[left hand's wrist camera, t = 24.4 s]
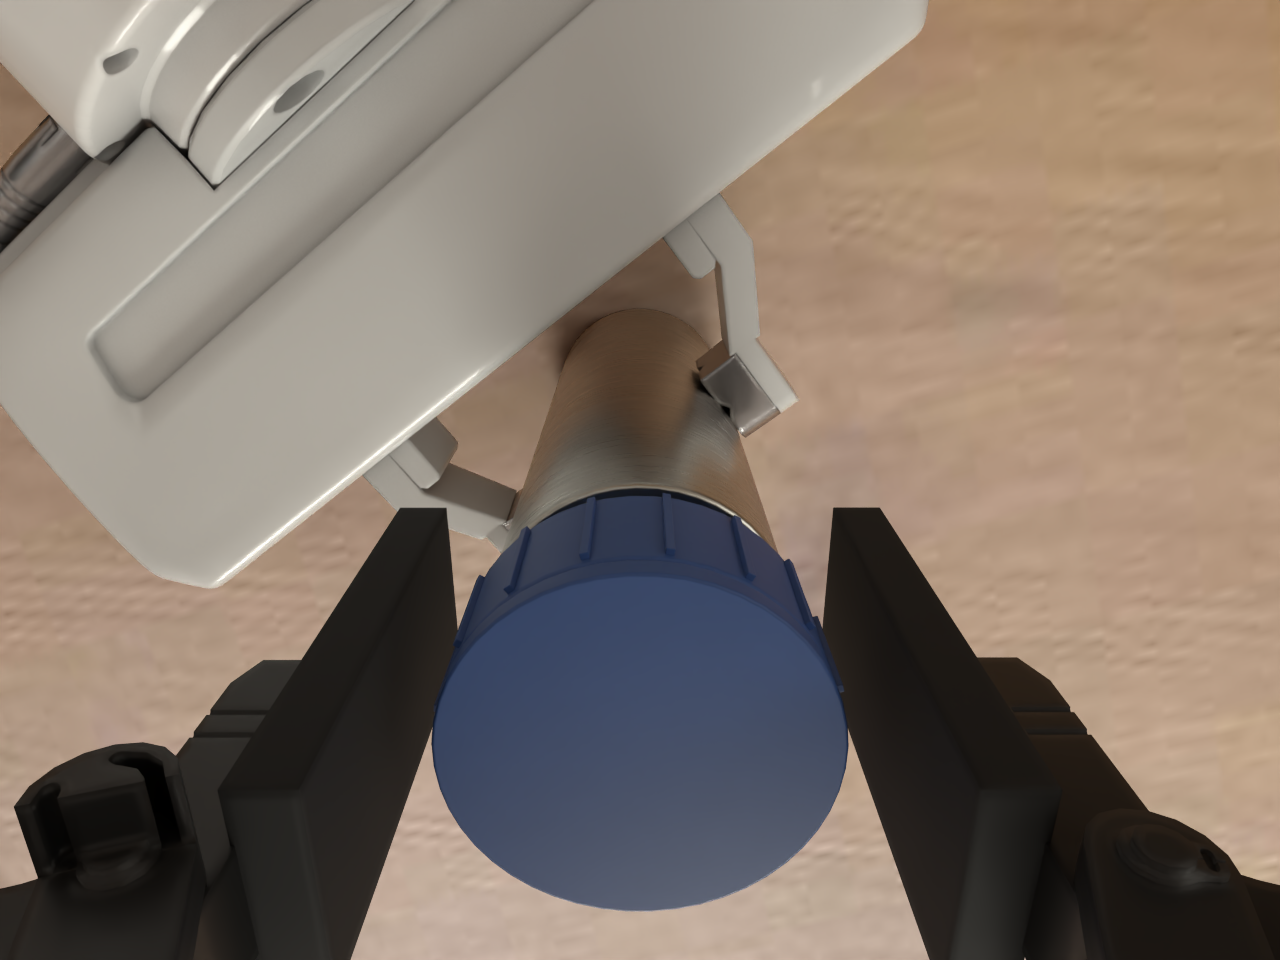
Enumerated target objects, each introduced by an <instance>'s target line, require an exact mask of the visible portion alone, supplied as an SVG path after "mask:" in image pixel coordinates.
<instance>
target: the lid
mask: <svg viewBox="0 0 1280 960" xmlns="http://www.w3.org/2000/svg"><path fill="white" fill-rule="evenodd" d="M453 646H455V648H454V651H453V654H452V657H451V659H450V662H449V665H448V668H447V670H446V673H445V676H444V679H443V681H442V684H441V687H440V690H439V692H438V695H437V698H436V701H435V703H434V712H435V714H434V719H433V729H432V753H433V762H434V768H435V772H436V776H437V780H438V783H439V787H440V790H441V792H442V795H443V797H444V799H445V801H446V804H447V806H448V808H449V810H450V812H451V813H452V815H453V817H454V818H455V820H456V821H457V823H458V825H459V826H460V828H461V829H462V830H463V832H464V833H465V834H466V835H467V836H468V838H469V839H470V840H471V841H472V842H473V844H474V845H475V846H476V847H477V848H478V849H479V850H480V851H481V852H483V853H484V854H485V855H486V856H487V857H488V858H489V859H490V860H491V861H492V862H494V863H495V864H496V865H498V866H499V867H501V868H502V869H503V870H505V871H506V872H507V873H509V874H510V875H512V876H513V877H515V878H517V879H519V880H520V881H522V882H524V883H526V884H528V885H529V886H531V887H533V888H536V889H538V890H540V891H542V892H545V893H547V894H549V895H552V896H554V897H557V898H561V899H564V900H567V901H570V902H573V903H577V904H581V905H586V906H591V907H596V908H601V909H610V910H619V911H660V910H671V909H679V908H684V907H689V906H694V905H699V904H703V903H706V902H710V901H713V900H716V899H720V898H723V897H726V896H728V895H730V894H733V893H735V892H738V891H740V890H742V889H745V888H747V887H749V886H751V885H752V884H754V883H756V882H758V881H760V880H761V879H763V878H765V877H767V876H768V875H770V874H771V873H773V872H774V871H775V870H777V869H778V868H780V867H781V866H782V865H784V864H785V863H787V862H788V861H789V860H790V859H791V858H792V857H793V856H794V855H795V854H796V853H798V852H799V851H800V850H801V849H802V848H803V847H804V846H805V845H806V843H807V842H808V841H809V840H810V839H811V838H812V836H813V835H814V834H815V833H816V832H817V831H818V829H819V828H820V826H821V825H822V823H823V821H824V820H825V818H826V817H827V815H828V814H829V812H830V810H831V808H832V806H833V804H834V801H835V799H836V797H837V795H838V793H839V790H840V787H841V783H842V780H843V776H844V773H845V769H846V762H847V754H848V725H847V719H846V714H845V710H844V705H843V701H842V698H841V695H840V692H844V687H843V683H842V681H841V678H840V675H839V673H838V670H837V667H836V664H835V662H834V659H833V656H832V654H831V651H830V648H829V646H828V643H827V640H826V638H825V635H824V632H823V629H822V627H821V624H820V621H819V619H818V616H815V617H812V614H811V612H810V609H809V606H808V604H807V601H806V598H805V596H804V593H803V590H802V588H801V585H800V582H799V579H798V576H797V574H796V571H795V568H794V565H793V563H792V562H791V561H790V559H787V560H786V561H784V560H783V559H782V558H781V557H780V555H779V554H778V553H777V552H776V551H775V550H774V549H773V548H772V547H771V546H770V545H769V544H768V543H767V542H766V541H765V540H763V539H762V538H761V537H760V536H758V535H757V534H756V533H754V532H753V531H751V530H750V529H749V528H747V527H746V526H745V525H743V524H742V520H741V518H740V517H738V516H736V515H734V516H733V518H730V517H728V516H727V515H725V514H723V513H720V512H717V511H715V510H712V509H710V508H707V507H705V506H702V505H698V504H695V503H691V502H687V501H683V500H679V499H672V498H671V494H665V493H663V495H662V497H656V496H625V497H616V498H607V499H602V500H598V501H596V499H595V497H592V498H588V499H587V503H585V504H581V505H578V506H576V507H573V508H570V509H568V510H565V511H562V512H560V513H558V514H556V515H554V516H552V517H550V518H548V519H546V520H544V521H542V522H541V523H539V524H537V525H536V526H534V527H533V528H531V529H529V528H528V526H526V527H525V528H523V529H522V530H521V532H520V535H519V538H518V539H517V540H516V541H515V542H514V543H512V544H511V545H510V546H509V547H508V548H507V549H506V550H505V551H504V552H503V553H502V554H501V556H500V557H499V558H498V559H497V561H496V562H495V563H494V564H493V566H492V567H491V568H490V569H489V571H488V573H487V574H486V576H485V577H483V576H481V575H479V577H478V578H477V580H476V583H475V585H474V588H473V591H472V594H471V596H470V599H469V602H468V604H467V607H466V610H465V613H464V615H463V618H462V621H461V623H460V626H459V629H458V632H457V634H456V637H455V640H454V642H453Z"/></svg>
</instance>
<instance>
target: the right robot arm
mask: <svg viewBox="0 0 1280 960" xmlns="http://www.w3.org/2000/svg"><path fill="white" fill-rule="evenodd" d="M928 2H929V0H0V63H1V64H2V65H3V66H4V67H5V68H6V69H7V70H8V71H9V72H10V73H11V74H12V75H13V76H14V77H15V79H16V80H17V81H18V82H19V83H20V84H21V85H22V86H23V87H24V88H25V89H26V90H27V91H28V92H29V93H30V94H31V96H32V97H33V98H34V99H35V100H36V101H37V102H38V103H39V104H40V105H41V106H42V107H43V108H44V109H45V110H46V111H47V113H48V114H49V115H48V116H47V117H46V118H45V119H44V120H43V121H42V122H41V123H40V125H39V126H38V127H37V128H36V129H35V130H34V132H33V133H32V134H31V135H30V136H29V137H28V138H27V139H26V140H25V141H24V142H23V143H22V144H21V145H20V146H19V147H18V148H17V149H16V150H15V152H14V153H13V154H12V155H11V157H10V158H9V159H8V160H7V162H6V163H5V164H4V165H3V167H2V168H1V170H0V404H1V406H2V407H3V409H4V410H5V411H6V413H7V414H8V415H9V417H10V418H11V419H12V421H13V422H14V423H15V425H16V426H17V427H18V428H19V430H20V431H21V432H22V433H23V435H24V436H25V437H26V438H27V440H28V441H29V442H30V443H31V445H32V446H33V447H34V448H35V450H36V451H37V452H38V453H39V455H40V456H41V457H42V458H43V459H44V460H45V462H46V463H47V464H48V465H49V466H50V467H51V469H52V470H53V471H54V472H55V473H56V474H57V476H58V477H59V478H60V479H61V480H62V481H63V483H64V484H65V485H66V486H67V487H68V488H69V490H70V491H71V492H72V493H73V494H74V495H75V496H76V497H77V498H78V500H79V501H80V502H81V503H82V504H83V505H84V506H85V507H86V508H87V509H88V511H89V512H90V513H91V514H92V515H93V516H94V517H95V518H96V519H97V520H98V521H99V522H100V523H101V524H102V525H103V527H104V528H105V529H106V530H107V531H108V532H109V533H110V534H111V535H112V536H113V537H114V538H115V539H116V540H117V541H118V542H119V543H120V544H121V545H122V546H123V547H124V548H125V549H126V550H127V551H128V552H129V553H130V554H131V555H132V556H133V557H134V558H135V559H136V560H137V561H138V562H139V563H140V564H142V565H143V566H144V567H145V568H146V569H147V570H148V571H150V572H151V573H153V574H154V575H156V576H158V577H160V578H163V579H166V580H171V581H175V582H179V583H183V584H187V585H192V586H196V587H201V588H207V589H213V588H217V587H220V586H222V585H223V584H225V583H226V582H227V581H229V580H230V579H231V578H233V577H234V576H235V575H236V574H238V573H239V572H240V571H241V570H243V569H244V568H245V567H247V566H248V565H249V564H250V563H252V562H253V561H254V560H255V559H257V558H258V557H259V556H260V555H262V554H263V553H264V552H265V551H267V550H268V549H269V548H271V547H272V546H273V545H274V544H276V543H277V542H278V541H279V540H281V539H282V538H283V537H284V536H286V535H287V534H288V533H289V532H291V531H292V530H293V529H295V528H296V527H297V526H298V525H300V524H301V523H302V522H303V521H305V520H306V519H307V518H308V517H310V516H311V515H312V514H314V513H315V512H316V511H317V510H319V509H320V508H321V507H322V506H324V505H325V504H326V503H327V502H329V501H330V500H331V499H332V498H334V497H335V496H336V495H338V494H339V493H340V492H341V491H343V490H344V489H345V488H346V487H348V486H349V485H350V484H351V483H353V482H354V481H355V480H357V479H358V478H359V477H360V476H362V475H363V476H364V477H365V479H366V480H367V481H368V482H369V483H370V484H371V485H372V486H373V487H374V488H375V489H376V490H377V491H378V492H379V493H380V494H381V495H382V496H383V497H384V498H385V499H386V501H387V502H388V503H389V504H390V505H391V506H392V507H393V508H394V509H395V510H396V511H397V512H398V510H399V509H400V508H447V518H448V529H450V530H453V531H456V532H459V533H462V534H465V535H469V536H472V537H475V538H478V539H481V540H482V539H484V538H485V537H487V538H488V540H489V541H490V542H491V543H492V544H493V545H494V546H495V547H496V548H497V549H498V550H499V551H500V552H501V553H502V550H503V547H504V544H505V541H506V538H507V535H508V532H509V529H510V526H511V523H512V520H513V517H514V514H515V511H516V508H517V505H518V502H519V499H520V496H521V493H522V490H523V489H521V490H520V491H518V492H517V490H514V489H512V488H509V487H507V486H504V485H502V484H499V483H497V482H495V481H492V480H490V479H487V478H485V477H482V476H480V475H477V474H475V473H473V472H470V471H468V470H465V469H463V468H460V467H458V466H455V465H453V464H451V463H449V462H450V460H451V458H452V457H453V455H454V453H455V452H456V450H457V447H458V442H457V441H456V439H455V438H454V437H453V436H452V435H451V434H450V433H449V431H448V430H447V429H446V428H445V427H444V426H443V425H442V424H441V422H440V421H439V420H438V419H437V418H436V416H437V415H439V414H440V413H441V412H442V411H444V410H445V409H446V408H448V407H449V406H450V405H451V404H453V403H454V402H455V401H456V400H458V399H459V398H460V397H461V396H463V395H464V394H465V393H466V392H468V391H469V390H470V389H472V388H473V387H474V386H475V385H477V384H478V383H479V382H480V381H482V380H483V379H484V378H485V377H487V376H488V375H489V374H491V373H492V372H493V371H494V370H496V369H497V368H498V367H499V366H501V365H502V364H503V363H504V362H506V361H507V360H508V359H509V358H511V357H512V356H513V355H515V354H516V353H517V352H518V351H520V350H521V349H522V348H523V347H525V346H526V345H527V344H528V343H530V342H531V341H532V340H533V339H535V338H536V337H537V336H539V335H540V334H541V333H542V332H544V331H545V330H546V329H547V328H549V327H550V326H551V325H552V324H554V323H555V322H556V321H558V320H559V319H560V318H561V317H563V316H564V315H565V314H566V313H568V312H569V311H570V310H571V309H573V308H574V307H575V306H576V305H578V304H579V303H580V302H582V301H583V300H584V299H585V298H587V297H588V296H589V295H590V294H592V293H593V292H594V291H595V290H597V289H598V288H599V287H600V286H602V285H603V284H604V283H606V282H607V281H608V280H609V279H611V278H612V277H613V276H614V275H616V274H617V273H618V272H619V271H621V270H622V269H623V268H625V267H626V266H627V265H628V264H630V263H631V262H632V261H633V260H635V259H636V258H637V257H638V256H640V255H641V254H642V253H643V252H645V251H646V250H647V249H649V248H650V247H651V246H652V245H654V244H655V243H656V242H657V241H659V240H660V239H661V238H663V239H664V240H665V242H666V243H667V244H668V246H669V247H670V248H671V250H672V251H673V252H674V254H675V255H676V256H677V258H678V259H679V260H680V262H681V263H682V264H683V266H684V267H685V268H686V270H687V271H688V272H689V274H690V275H691V276H692V277H693V278H698V279H701V278H703V277H704V276H705V275H706V274H708V273H709V272H710V271H712V270H713V269H714V270H715V279H716V288H717V298H718V307H719V316H720V326H721V335H722V339H723V340H722V341H720V342H719V343H718V344H717V345H715V346H714V347H713V348H711V349H710V350H709V351H708V352H706V353H705V354H704V355H702V356H701V357H700V358H699V359H697V360H696V361H695V362H696V366H697V369H698V370H699V373H698V374H699V378H700V381H701V382H702V384H703V385H704V386H705V388H706V389H707V390H708V392H709V393H710V394H711V396H712V397H713V398H714V399H715V400H716V401H717V402H718V403H719V404H720V405H722V406H725V407H727V410H728V413H729V416H730V419H731V420H732V422H733V424H734V426H735V427H736V428H737V430H738V431H739V432H740V433H741V434H742V435H743V436H744V437H747V436H749V435H750V434H751V433H753V432H754V431H756V430H757V429H759V428H760V427H762V426H763V425H764V424H766V423H767V422H769V421H770V420H772V419H773V418H775V417H776V416H777V415H779V414H780V413H782V412H783V411H784V410H786V409H787V408H789V407H790V406H792V405H793V404H794V403H796V402H797V401H799V398H798V396H797V395H796V393H795V391H794V389H793V388H792V386H791V385H790V383H789V382H788V380H787V379H786V377H785V376H784V374H783V373H782V371H781V370H780V369H779V367H778V366H777V364H776V363H775V362H774V360H773V359H772V358H771V356H770V355H769V353H768V352H767V351H766V349H765V348H764V347H763V345H762V344H761V342H760V341H759V340H758V338H757V337H758V336H760V328H759V315H758V302H757V289H756V276H755V264H754V251H753V241H752V239H751V238H750V236H749V235H748V234H747V232H746V231H745V229H744V228H743V226H742V225H741V223H740V222H739V221H738V219H737V218H736V216H735V215H734V213H733V212H732V210H731V209H730V208H729V206H728V205H727V203H726V202H725V200H724V199H723V197H722V196H721V195H720V193H719V192H721V191H722V190H723V189H724V188H726V187H727V186H728V185H729V184H731V183H732V182H733V181H735V180H736V179H737V178H738V177H740V176H741V175H742V174H743V173H745V172H746V171H747V170H748V169H750V168H751V167H752V166H753V165H755V164H756V163H757V162H759V161H760V160H761V159H762V158H764V157H765V156H766V155H767V154H769V153H770V152H771V151H772V150H774V149H775V148H776V147H777V146H779V145H780V144H781V143H783V142H784V141H785V140H786V139H788V138H789V137H790V136H791V135H793V134H794V133H795V132H796V131H798V130H799V129H800V128H802V127H803V126H804V125H805V124H807V123H808V122H809V121H810V120H812V119H813V118H814V117H815V116H817V115H818V114H819V113H820V112H822V111H823V110H824V109H826V108H827V107H828V106H829V105H831V104H832V103H833V102H834V101H836V100H837V99H838V98H839V97H841V96H842V95H843V94H844V93H846V92H847V91H848V90H850V89H851V88H852V87H853V86H855V85H856V84H857V83H858V82H860V81H861V80H862V79H863V78H865V77H866V76H867V75H869V74H870V73H871V72H872V71H874V70H875V69H876V68H877V67H879V66H880V65H881V64H882V63H884V62H885V61H886V60H887V59H889V58H890V57H891V56H892V55H894V54H895V53H896V52H897V51H899V50H900V49H901V48H902V47H904V46H905V45H906V44H907V43H909V42H910V41H911V40H913V39H914V38H915V37H916V36H917V35H918V34H919V33H920V31H921V30H922V28H923V26H924V24H925V20H926V15H927V9H928ZM516 492H517V493H516Z"/></svg>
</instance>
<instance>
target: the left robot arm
mask: <svg viewBox="0 0 1280 960" xmlns="http://www.w3.org/2000/svg"><path fill="white" fill-rule="evenodd" d="M457 632H458V629H457V618H456V607H455V596H454V585H453V573H452V562H451V551H450V540H449V529H448V518H447V508H400V509H399V510H398V512H397V514H396V515H395V517H394V518H393V520H392V521H391V523H390V524H389V526H388V527H387V529H386V530H385V532H384V534H383V535H382V537H381V538H380V540H379V541H378V543H377V544H376V546H375V547H374V549H373V551H372V552H371V554H370V555H369V557H368V558H367V560H366V561H365V563H364V564H363V566H362V567H361V569H360V571H359V572H358V574H357V575H356V577H355V578H354V580H353V581H352V583H351V584H350V586H349V588H348V589H347V591H346V592H345V594H344V595H343V597H342V598H341V600H340V601H339V603H338V604H337V606H336V608H335V609H334V611H333V612H332V614H331V615H330V617H329V618H328V620H327V621H326V623H325V625H324V626H323V628H322V629H321V631H320V632H319V634H318V635H317V637H316V638H315V640H314V641H313V643H312V645H311V646H310V648H309V649H308V651H307V652H306V654H305V655H304V657H303V658H302V660H263V661H261V662H260V663H259V664H257V665H256V666H254V667H253V668H251V669H250V670H249V671H247V672H246V673H244V674H243V675H241V676H240V677H239V678H237V679H236V680H234V681H233V682H231V683H230V685H229V686H228V687H227V689H226V690H225V691H224V693H223V694H222V695H221V696H220V698H219V699H218V700H217V702H216V703H215V704H214V706H213V707H212V708H211V713H210V715H206V716H205V718H204V719H203V720H202V722H201V723H200V724H199V726H198V727H197V728H196V730H195V731H194V737H193V738H189V739H188V740H187V742H186V743H185V744H184V746H183V747H182V748H181V750H180V751H179V752H178V754H177V755H176V756H175V755H174V754H173V753H171V752H170V751H169V750H168V749H167V748H166V747H163V746H158V745H153V744H148V743H143V742H142V743H129V744H116V745H112V746H108V747H105V748H101V749H98V750H94V751H91V752H87V753H84V754H82V755H80V756H77V757H75V758H73V759H71V760H69V761H67V762H65V763H63V764H61V765H59V766H57V767H55V768H53V769H52V770H50V771H49V772H48V773H46V774H45V775H44V776H42V777H41V778H40V779H39V780H37V781H36V782H35V783H33V784H32V785H31V786H29V787H28V789H27V790H26V791H25V793H24V794H23V795H22V797H21V798H20V799H19V801H18V802H17V803H16V805H15V806H14V809H15V812H16V815H17V818H18V820H19V823H20V826H21V829H22V832H23V835H24V838H25V841H26V844H27V847H28V850H29V853H30V856H31V859H32V862H33V864H34V867H35V870H36V873H37V876H38V879H36V880H33V881H29V882H26V883H23V884H19V885H15V886H11V887H6V888H2V889H0V960H350V959H351V956H352V954H353V951H354V948H355V945H356V942H357V939H358V937H359V934H360V931H361V928H362V925H363V922H364V920H365V917H366V914H367V911H368V908H369V905H370V903H371V900H372V897H373V894H374V891H375V888H376V886H377V883H378V880H379V877H380V874H381V871H382V869H383V866H384V863H385V860H386V857H387V854H388V851H389V849H390V846H391V843H392V840H393V837H394V834H395V832H396V829H397V826H398V823H399V820H400V817H401V815H402V812H403V809H404V806H405V803H406V800H407V798H408V795H409V792H410V789H411V786H412V783H413V781H414V778H415V775H416V772H417V769H418V766H419V764H420V761H421V758H422V755H423V752H424V749H425V747H426V744H427V741H428V738H429V735H430V732H431V730H432V727H433V719H434V714H435V712H434V703H435V701H436V698H437V695H438V692H439V690H440V687H441V684H442V681H443V679H444V676H445V673H446V670H447V668H448V665H449V662H450V659H451V657H452V654H453V651H454V648H455V646H453V642H454V640H455V637H456V634H457ZM823 632H824V635H825V638H826V640H827V643H828V646H829V648H830V651H831V654H832V656H833V659H834V662H835V664H836V667H837V670H838V673H839V675H840V678H841V681H842V683H843V687H844V692H840V695H841V698H842V701H843V705H844V710H845V714H846V719H847V725H848V729H849V732H850V735H851V738H852V741H853V744H854V747H855V749H856V752H857V755H858V758H859V761H860V764H861V766H862V769H863V772H864V775H865V778H866V781H867V783H868V786H869V789H870V792H871V795H872V798H873V800H874V803H875V806H876V809H877V812H878V815H879V817H880V820H881V823H882V826H883V829H884V832H885V834H886V837H887V840H888V843H889V846H890V849H891V851H892V854H893V857H894V860H895V863H896V866H897V868H898V871H899V874H900V877H901V880H902V883H903V886H904V888H905V891H906V894H907V897H908V900H909V903H910V905H911V908H912V911H913V914H914V917H915V920H916V922H917V925H918V928H919V931H920V934H921V937H922V939H923V942H924V945H925V948H926V951H927V954H928V956H929V959H930V960H1024V958H1026V960H1280V885H1276V884H1272V883H1268V882H1264V881H1260V880H1256V879H1253V878H1250V877H1246V876H1243V875H1241V874H1240V873H1239V871H1238V870H1237V868H1236V867H1235V865H1234V864H1233V862H1232V860H1231V859H1230V857H1229V856H1228V855H1227V854H1226V853H1225V852H1224V851H1222V850H1221V849H1220V848H1219V847H1218V846H1217V845H1215V844H1214V843H1213V842H1212V841H1211V840H1210V839H1208V838H1207V837H1206V836H1205V835H1203V834H1201V833H1199V832H1198V831H1196V830H1194V829H1192V828H1190V827H1188V826H1187V825H1185V824H1183V823H1181V822H1179V821H1177V820H1175V819H1172V818H1169V817H1165V816H1162V815H1159V814H1156V813H1153V812H1150V811H1148V809H1147V808H1146V807H1145V805H1144V804H1143V803H1142V801H1141V800H1140V799H1139V797H1138V796H1137V795H1136V793H1135V792H1134V791H1133V789H1132V788H1131V787H1130V785H1129V784H1128V783H1127V782H1126V780H1125V779H1124V778H1123V776H1122V775H1121V774H1120V772H1119V771H1118V770H1117V768H1116V767H1115V766H1114V764H1113V763H1112V762H1111V760H1110V759H1109V758H1108V756H1107V755H1106V754H1105V752H1104V751H1103V750H1102V748H1101V747H1100V746H1099V744H1098V743H1097V742H1096V741H1095V739H1094V738H1093V737H1092V735H1088V734H1087V729H1086V727H1085V726H1084V725H1083V723H1082V722H1081V721H1080V719H1079V718H1078V717H1077V715H1076V714H1075V713H1074V712H1071V711H1070V706H1069V705H1068V703H1067V702H1066V701H1065V700H1064V698H1063V697H1062V696H1061V694H1060V693H1059V692H1058V690H1057V689H1056V688H1055V686H1054V685H1053V684H1052V682H1051V681H1050V680H1049V679H1047V678H1046V677H1044V676H1043V675H1042V674H1040V673H1039V672H1037V671H1036V670H1034V669H1033V668H1031V667H1030V666H1029V665H1027V664H1026V663H1024V662H1023V661H1021V660H1020V659H1019V658H977V657H976V655H975V654H974V652H973V651H972V649H971V648H970V646H969V645H968V643H967V641H966V640H965V638H964V637H963V635H962V634H961V632H960V631H959V629H958V628H957V626H956V625H955V623H954V621H953V620H952V618H951V617H950V615H949V614H948V612H947V611H946V609H945V608H944V606H943V604H942V603H941V601H940V600H939V598H938V597H937V595H936V594H935V592H934V591H933V589H932V588H931V586H930V584H929V583H928V581H927V580H926V578H925V577H924V575H923V574H922V572H921V571H920V569H919V567H918V566H917V564H916V563H915V561H914V560H913V558H912V557H911V555H910V554H909V552H908V551H907V549H906V547H905V546H904V544H903V543H902V541H901V540H900V538H899V537H898V535H897V534H896V532H895V530H894V529H893V527H892V526H891V524H890V523H889V521H888V520H887V518H886V517H885V515H884V514H883V512H882V510H881V509H880V508H833V518H832V529H831V540H830V551H829V563H828V574H827V585H826V596H825V607H824V618H823Z"/></svg>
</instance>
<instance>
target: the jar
mask: <svg viewBox="0 0 1280 960" xmlns="http://www.w3.org/2000/svg"><path fill="white" fill-rule="evenodd" d="M708 351H709V348H708V346H707V345H706V343H705V342H704V340H703V339H702V338H701V337H700V336H699V334H698V333H697V332H696V331H695V330H694V329H692V328H691V327H690V326H689V325H688V324H686V323H685V322H683V321H681V320H680V319H678V318H676V317H674V316H672V315H670V314H667V313H664V312H660V311H656V310H650V309H630V310H624V311H620V312H616V313H613V314H610V315H608V316H606V317H604V318H602V319H600V320H598V321H597V322H595V323H594V324H592V325H591V326H590V327H588V328H587V329H586V330H585V331H584V332H583V333H582V334H581V335H580V337H579V338H578V339H577V340H576V341H575V343H574V345H573V346H572V348H571V349H570V351H569V354H568V356H567V358H566V361H565V364H564V367H563V370H562V373H561V376H560V379H559V382H558V385H557V388H556V391H555V394H554V397H553V400H552V403H551V406H550V409H549V412H548V415H547V418H546V421H545V424H544V427H543V430H542V433H541V436H540V439H539V442H538V445H537V448H536V451H535V454H534V457H533V460H532V463H531V466H530V469H529V472H528V475H527V478H526V481H525V484H524V487H523V490H522V493H521V496H520V499H519V502H518V505H517V508H516V511H515V514H514V517H513V520H512V523H511V526H510V529H509V532H508V535H507V538H506V541H505V544H504V547H503V550H502V553H503V552H504V551H505V550H506V549H507V548H508V547H509V546H510V545H511V544H512V543H514V542H515V541H516V540H517V539H518V538H519V535H520V532H521V530H522V529H523V528H525V527H526V526H528V528H529V529H531V528H533V527H534V526H536V525H537V524H539V523H541V522H542V521H544V520H546V519H548V518H550V517H552V516H554V515H556V514H558V513H560V512H562V511H565V510H568V509H570V508H573V507H576V506H578V505H581V504H585V503H587V499H588V498H592V497H595V499H596V501H598V500H602V499H607V498H616V497H625V496H656V497H662V495H663V493H665V494H671V498H672V499H679V500H683V501H687V502H691V503H695V504H698V505H702V506H705V507H707V508H710V509H712V510H715V511H717V512H720V513H723V514H725V515H727V516H728V517H730V518H733V516H734V515H736V516H738V517H740V518H741V520H742V524H743V525H745V526H746V527H747V528H749V529H750V530H751V531H753V532H754V533H756V534H757V535H758V536H760V537H761V538H762V539H763V540H765V541H766V542H767V543H768V544H769V545H770V546H771V547H772V548H773V549H774V550H775V551H776V552H777V553H778V551H777V548H776V545H775V542H774V539H773V536H772V533H771V530H770V527H769V524H768V521H767V518H766V515H765V512H764V509H763V506H762V503H761V500H760V497H759V494H758V491H757V488H756V485H755V482H754V479H753V476H752V473H751V470H750V467H749V464H748V461H747V458H746V455H745V452H744V449H743V446H742V443H741V440H740V437H739V434H738V431H737V428H736V427H735V426H734V424H733V422H732V420H731V419H730V416H729V413H728V410H727V407H725V406H722V405H720V404H719V403H718V402H717V401H716V400H715V399H714V398H713V397H712V396H711V394H710V393H709V392H708V390H707V389H706V388H705V386H704V385H703V384H702V382H701V381H700V378H699V374H698V373H699V370H698V369H697V366H696V362H695V361H696V360H697V359H699V358H700V357H701V356H702V355H704V354H705V353H706V352H708ZM502 553H501V554H502Z"/></svg>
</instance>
